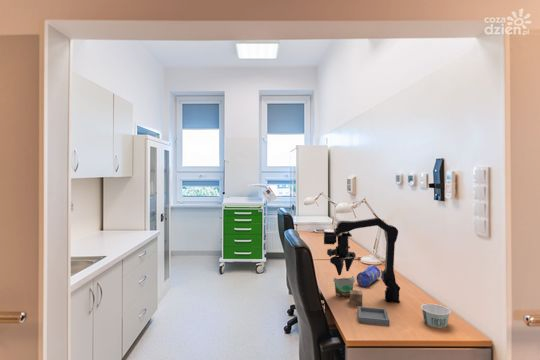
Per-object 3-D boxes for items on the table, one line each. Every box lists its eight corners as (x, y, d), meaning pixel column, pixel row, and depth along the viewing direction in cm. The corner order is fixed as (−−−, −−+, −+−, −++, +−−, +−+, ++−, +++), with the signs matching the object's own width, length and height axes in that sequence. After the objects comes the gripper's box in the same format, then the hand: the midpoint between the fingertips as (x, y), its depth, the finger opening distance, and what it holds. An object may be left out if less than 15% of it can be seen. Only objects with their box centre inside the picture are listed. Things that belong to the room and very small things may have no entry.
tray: (385, 313, 155) (385, 308, 155) (389, 325, 143) (389, 320, 143) (357, 311, 158) (357, 306, 158) (358, 322, 146) (358, 317, 146)
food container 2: (441, 317, 152) (441, 303, 152) (456, 329, 140) (456, 314, 140) (415, 317, 151) (415, 303, 151) (429, 329, 139) (429, 314, 139)
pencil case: (368, 277, 213) (368, 262, 213) (381, 279, 208) (381, 264, 208) (355, 286, 195) (355, 270, 195) (369, 289, 190) (369, 272, 190)
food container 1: (338, 299, 173) (338, 281, 173) (333, 295, 179) (333, 277, 179) (359, 297, 176) (359, 279, 176) (353, 293, 182) (353, 275, 182)
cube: (361, 302, 170) (361, 290, 170) (362, 306, 164) (362, 294, 164) (350, 301, 171) (350, 289, 171) (350, 305, 166) (350, 293, 166)
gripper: (337, 240, 188) (338, 267, 188) (321, 245, 173) (321, 274, 173) (355, 242, 181) (356, 270, 181) (340, 248, 166) (340, 278, 166)
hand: (343, 273), depth 176 cm, fingers open, 9 cm apart
